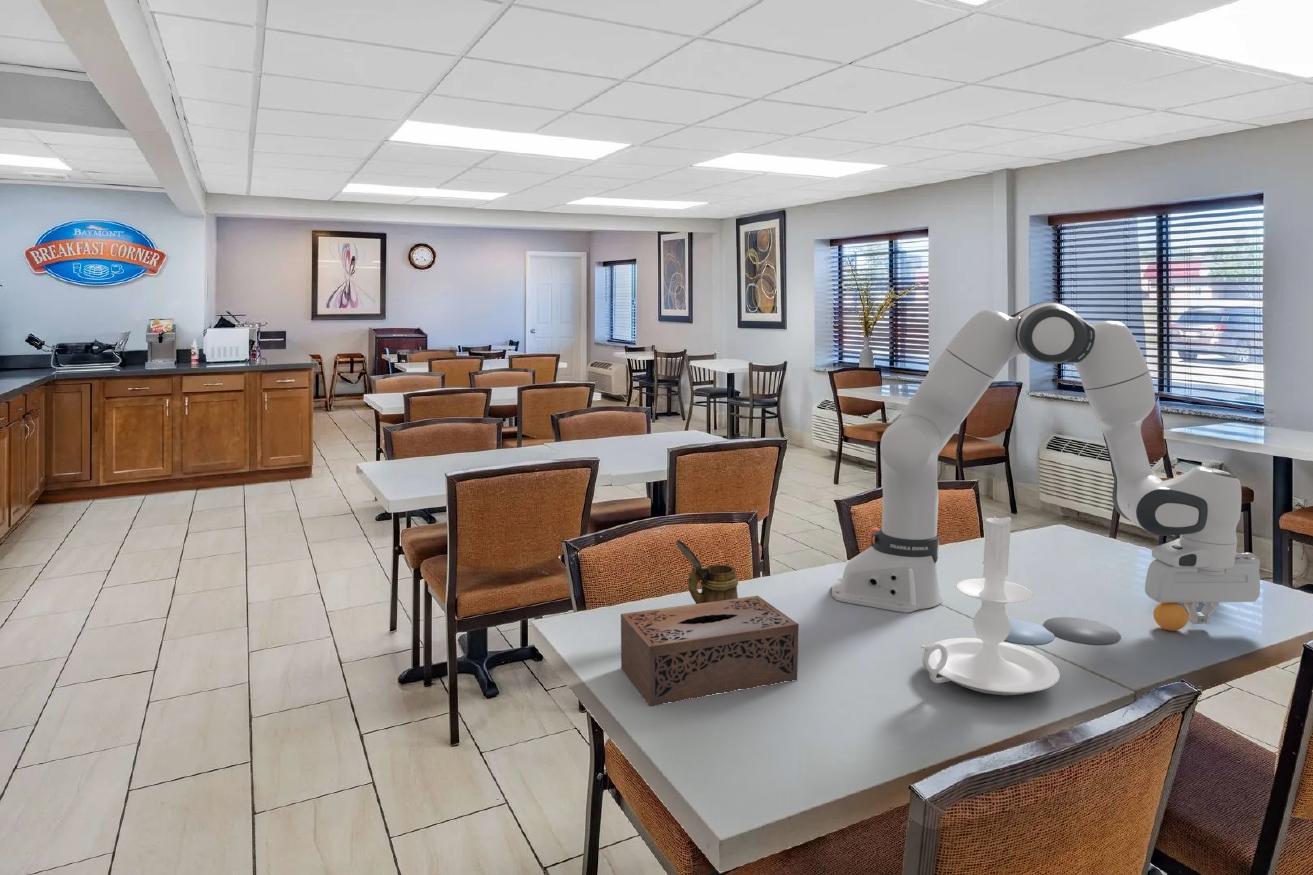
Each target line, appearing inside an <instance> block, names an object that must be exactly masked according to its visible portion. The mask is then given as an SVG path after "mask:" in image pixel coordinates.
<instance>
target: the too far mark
mask: <svg viewBox="0 0 1313 875" xmlns="http://www.w3.org/2000/svg"><path fill="white" fill-rule="evenodd" d="M1009 619H1010V622H1011V631H1010V633H1009V635H1008V636H1007V638H1006V639H1005V640H1004V642H1005V641H1006V642H1008V643H1009V642H1010V643H1012V644H1020V645H1027V646H1028V645H1029V646H1030V645H1031V646H1032V645H1033V646H1036V645H1045V644H1049V643H1051V642H1053V641H1054V639H1055V635H1054V634H1053V633H1052V632H1051V631H1050V630H1048V629H1047V628H1045V627H1044V626H1043V625H1040V624H1038V623H1034V622H1031V621H1027V620H1020V619H1014V618H1013V619H1012V618H1009Z"/></svg>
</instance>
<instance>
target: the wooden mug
mask: <svg viewBox="0 0 1313 875" xmlns="http://www.w3.org/2000/svg"><path fill="white" fill-rule="evenodd" d="M676 546H677V547H678V549H679V550H680V552H681V553H682V554H683V556H685V558H686V559H687V561H688V562H689V563H690V564H691V565H692V569H691V571H690V573H689V576H688V582H687V586H688V592H689V593H690V596H691V598H692V600H693V601H694V602H695V603H694V604H699V603H707V602H714V601H721V600H729V599H736V598H739V596H738V585H739V580H738V576H737V574H736V568H735V567H733V566H731V565H729V564H714V565H708V566H702V564H701V562H700V560H699V559H698V558H697V556H696V555H695V554H694V552H693V551H692V550H691V549H690V547H688V546H687V544H685V543H684V542H683V541H681V540H679V539H677V540H676ZM699 583H700V585H701V591H700V592H699V590H698V584H699Z"/></svg>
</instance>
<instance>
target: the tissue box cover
mask: <svg viewBox="0 0 1313 875" xmlns="http://www.w3.org/2000/svg"><path fill="white" fill-rule="evenodd" d="M798 655H799V623H798V622H796V621H795V620H794V619H792V618H790V617H789V616H788V615H786V614H785V613H783V612H782V611H781V610H779V609H778V608H776V607H775V606H774V605H772V604H770V603H769V602H768V601H766V600H765V599H763V598H762V597H760V596H759V595H751V596H744V597H738V598H736V599H729V600H721V601H714V602H707V603H699V604H696V603H692V604H684V605H679V606H678V605H676V606H669V607H665V608H664V607H663V608H656V609H647V610H641V611H640V610H639V611H634V612H626V613H620V660H621V662H620V664H621V665H620V666H621V667H620V669H621V670H622V671H623V673H624V674H625V675H626V677H627V678H628V679H629V681H630V682H631V684H632V685H633V686H634V687H635V689H636V690H637V692H638V693H639V694H640V695H641V697H642V698H643V699H645V700H644V701H645V702H646V704H647V703H648V704H647V705H648V706H649V707H654V706H655V705H656V706H660V705H661V706H662V705H664V704H663V703H667V704H669V703H668V702H672V703H677V702H676V701H678V702H682V701H681V700H684V699H685V700H684V701H687V700H686V699H689V698H690V699H689V700H692V699H691V698H695V699H698V698H697V697H701V698H705V697H704V696H706V695H712V694H716V693H723V694H725V693H724V692H729V693H731V692H730V691H734V690H738V689H746V690H748V689H747V688H751V689H754V688H753V687H757V686H762V685H768V686H772V685H771V684H774V685H776V684H775V683H779V684H781V683H780V682H784V681H791V682H793V681H792V680H796V681H798V664H799V663H798V662H799V661H798V660H799V659H798V657H799V656H798ZM762 687H763V686H762ZM757 688H758V687H757ZM734 692H735V691H734ZM702 696H703V697H702ZM712 696H713V695H712ZM706 697H707V696H706ZM659 704H660V705H659Z"/></svg>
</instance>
